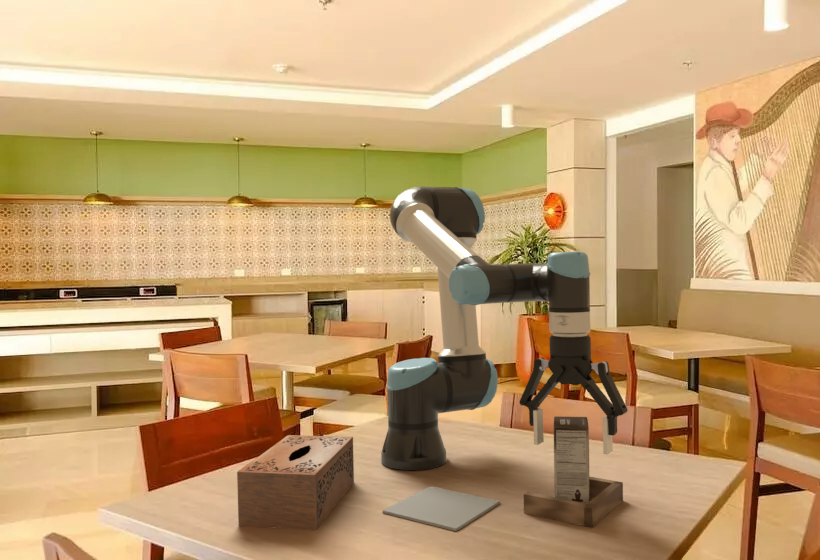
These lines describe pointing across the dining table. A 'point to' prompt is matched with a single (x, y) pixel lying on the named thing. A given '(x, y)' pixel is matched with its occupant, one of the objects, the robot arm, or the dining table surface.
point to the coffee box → (571, 458)
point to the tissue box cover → (295, 482)
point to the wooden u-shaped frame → (578, 504)
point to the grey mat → (442, 508)
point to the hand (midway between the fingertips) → (572, 447)
